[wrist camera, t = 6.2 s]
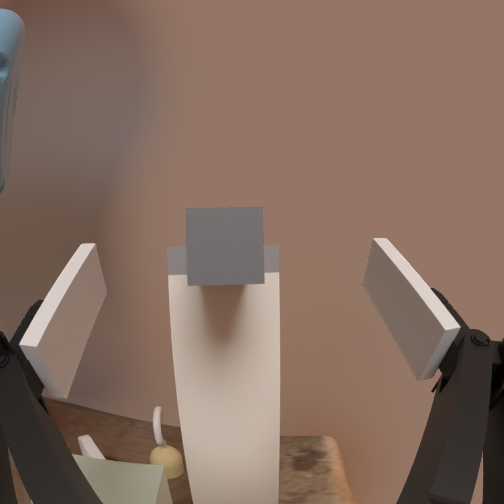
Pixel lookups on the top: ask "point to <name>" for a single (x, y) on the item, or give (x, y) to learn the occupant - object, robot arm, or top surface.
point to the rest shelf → (125, 481)
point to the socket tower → (228, 383)
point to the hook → (165, 450)
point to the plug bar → (225, 246)
